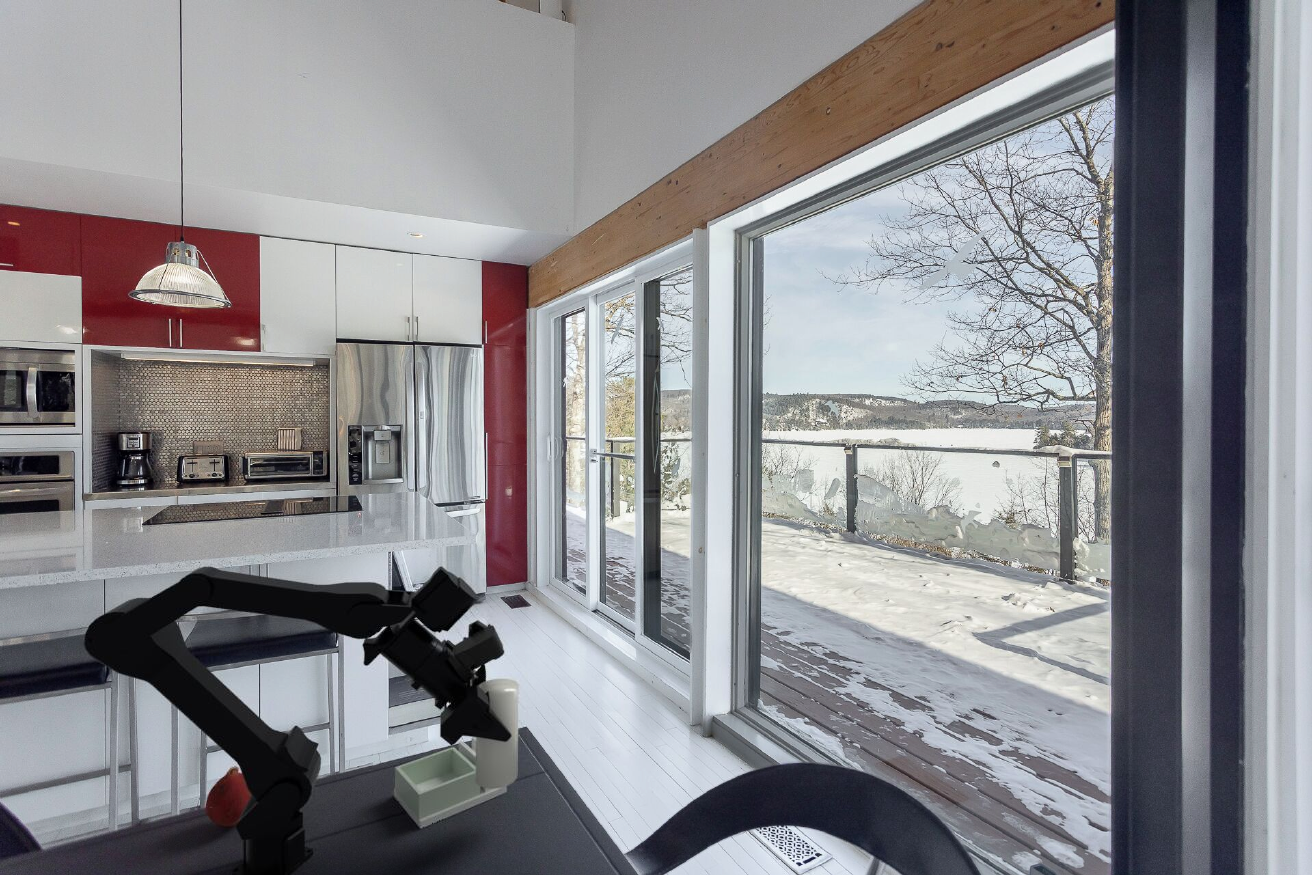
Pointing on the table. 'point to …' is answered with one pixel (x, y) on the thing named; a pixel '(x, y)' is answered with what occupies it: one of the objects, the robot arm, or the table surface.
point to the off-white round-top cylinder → (498, 756)
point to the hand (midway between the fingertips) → (507, 728)
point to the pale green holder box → (441, 785)
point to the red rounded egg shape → (228, 798)
